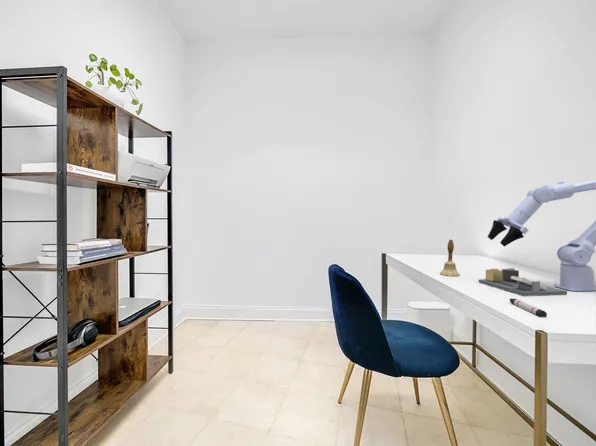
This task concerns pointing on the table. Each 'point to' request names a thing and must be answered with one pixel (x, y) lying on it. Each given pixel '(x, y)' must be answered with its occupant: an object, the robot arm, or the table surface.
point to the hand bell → (450, 262)
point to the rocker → (527, 281)
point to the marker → (528, 307)
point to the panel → (524, 288)
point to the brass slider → (494, 275)
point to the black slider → (509, 274)
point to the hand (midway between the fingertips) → (495, 241)
